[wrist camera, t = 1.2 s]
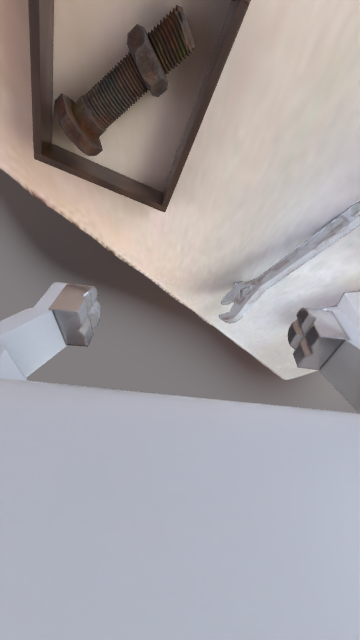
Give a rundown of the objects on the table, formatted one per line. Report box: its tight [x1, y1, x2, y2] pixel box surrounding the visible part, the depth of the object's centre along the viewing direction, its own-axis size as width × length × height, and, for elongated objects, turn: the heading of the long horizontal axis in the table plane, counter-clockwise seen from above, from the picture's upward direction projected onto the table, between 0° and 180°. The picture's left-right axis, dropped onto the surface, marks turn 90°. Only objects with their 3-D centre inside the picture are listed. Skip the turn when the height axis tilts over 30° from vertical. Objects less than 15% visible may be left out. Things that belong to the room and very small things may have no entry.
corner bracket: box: [322, 291, 360, 334], centre depth 54 cm, size 11×11×12 cm
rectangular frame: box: [28, 0, 251, 212], centre depth 25 cm, size 17×20×4 cm
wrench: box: [219, 202, 360, 323], centre depth 43 cm, size 8×2×30 cm
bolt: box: [54, 5, 195, 156], centre depth 24 cm, size 6×5×15 cm
